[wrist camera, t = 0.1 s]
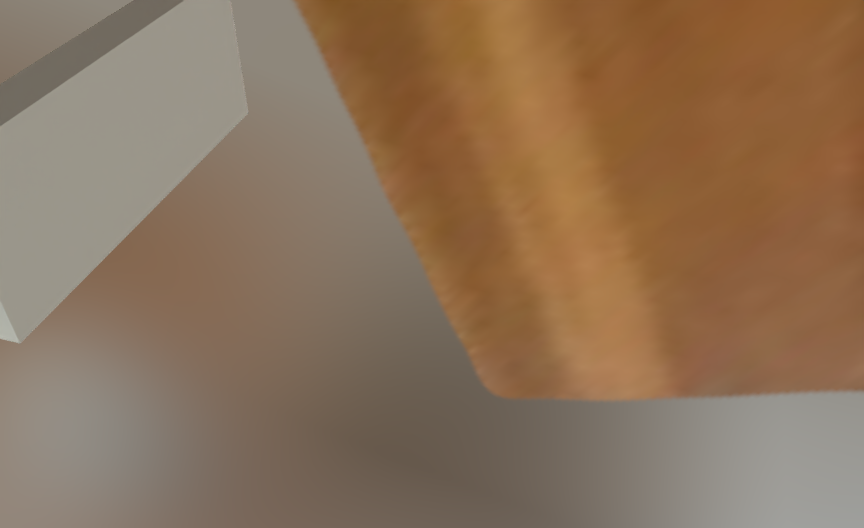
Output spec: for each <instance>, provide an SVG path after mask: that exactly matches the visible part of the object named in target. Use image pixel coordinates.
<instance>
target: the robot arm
mask: <svg viewBox="0 0 864 528" xmlns="http://www.w3.org/2000/svg"><path fill="white" fill-rule="evenodd" d="M247 114H248V108H247V101H246V95H245V88H244V82H243V76H242V69H241V63H240V57H239V50H238V44H237V38H236V31H235V25H234V18H233V12H232V5H231V0H134V1H132V2H131V3H129V4H127V5H126V6H124V7H122V8H121V9H119V10H118V11H116V12H114V13H113V14H111V15H110V16H108V17H106V18H105V19H103V20H102V21H100V22H98V23H97V24H95V25H94V26H92V27H90V28H89V29H87V30H86V31H84V32H83V33H81V34H79V35H78V36H76V37H75V38H73V39H71V40H70V41H68V42H67V43H65V44H63V45H62V46H60V47H59V48H57V49H55V50H54V51H52V52H51V53H49V54H47V55H46V56H44V57H43V58H41V59H39V60H38V61H36V62H35V63H33V64H31V65H30V66H28V67H27V68H25V69H23V70H22V71H20V72H19V73H17V74H16V75H14V76H12V77H11V78H9V79H7V80H6V81H4V82H3V83H1V84H0V339H4V340H8V341H12V342H17V343H21V342H22V341H23V340H24V339H25V338H26V337H27V336H28V335H29V334H30V333H31V332H32V331H33V330H34V329H35V328H36V327H37V326H38V325H39V324H40V323H41V322H42V321H43V320H44V319H45V318H46V317H47V316H48V315H49V314H50V313H51V312H52V311H53V310H54V309H55V308H56V307H57V306H58V305H59V304H60V303H61V302H62V301H63V300H64V299H65V298H66V297H67V295H69V294H70V292H71V291H73V290H74V288H76V287H77V286H78V284H80V282H81V281H83V280H84V279H85V278H86V276H87V275H88V274H89V273H90V272H91V271H92V270H93V269H94V268H95V267H96V266H97V265H98V264H99V263H100V262H101V261H102V260H103V259H104V258H105V257H106V256H107V255H108V254H109V253H110V252H111V251H112V250H113V249H114V248H115V247H116V246H117V245H118V244H119V243H120V242H121V241H122V240H123V239H124V238H125V237H126V236H127V235H128V234H129V233H130V232H131V231H132V230H133V229H134V228H135V227H136V226H137V225H138V224H139V223H140V222H141V221H142V220H143V219H144V218H145V217H146V216H147V215H148V214H149V213H150V212H151V211H152V210H153V209H154V208H155V207H156V206H157V205H158V204H159V203H160V202H161V201H162V200H163V199H164V198H165V197H166V196H167V195H168V194H169V193H170V191H172V190H173V189H174V187H176V186H177V185H178V184H179V183H180V181H182V180H183V179H184V178H185V177H186V175H188V174H189V173H190V172H191V171H192V169H193V168H194V167H195V166H196V165H197V164H198V163H199V162H200V161H201V160H202V159H203V158H204V157H205V156H206V155H207V154H208V153H209V152H210V151H211V150H212V149H213V148H214V147H215V146H216V145H217V144H218V143H219V142H220V141H221V140H222V139H223V138H224V137H225V136H226V135H227V134H228V133H229V132H230V131H231V130H232V129H233V128H234V127H235V126H236V125H237V124H238V123H239V122H240V121H241V120H242V119H243V118H244V117H245V116H246V115H247Z"/></svg>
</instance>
